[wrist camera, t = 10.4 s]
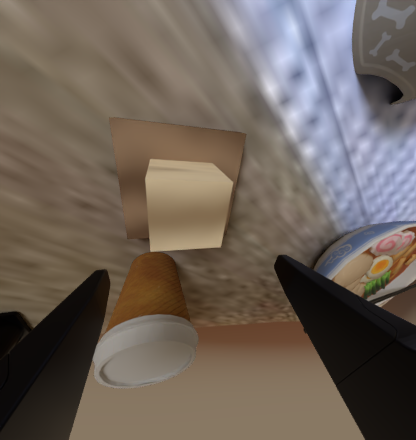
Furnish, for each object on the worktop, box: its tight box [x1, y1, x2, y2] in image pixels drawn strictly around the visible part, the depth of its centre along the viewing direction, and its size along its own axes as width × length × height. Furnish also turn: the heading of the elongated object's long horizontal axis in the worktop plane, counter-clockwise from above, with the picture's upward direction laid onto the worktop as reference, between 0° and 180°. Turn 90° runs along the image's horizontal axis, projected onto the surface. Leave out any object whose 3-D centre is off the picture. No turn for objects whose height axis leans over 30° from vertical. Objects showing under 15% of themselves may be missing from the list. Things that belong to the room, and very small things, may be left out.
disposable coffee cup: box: [92, 252, 198, 388], centre depth 20 cm, size 10×10×12 cm
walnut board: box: [109, 117, 246, 239], centre depth 19 cm, size 12×12×2 cm
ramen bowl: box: [304, 221, 416, 333], centre depth 31 cm, size 25×23×8 cm
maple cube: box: [145, 159, 233, 252], centre depth 16 cm, size 6×6×6 cm
